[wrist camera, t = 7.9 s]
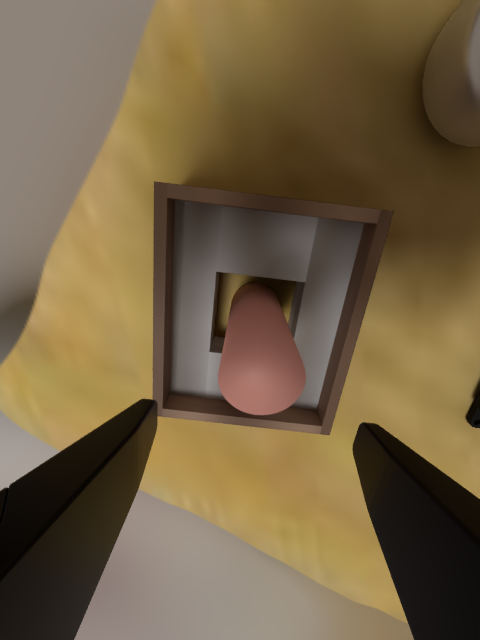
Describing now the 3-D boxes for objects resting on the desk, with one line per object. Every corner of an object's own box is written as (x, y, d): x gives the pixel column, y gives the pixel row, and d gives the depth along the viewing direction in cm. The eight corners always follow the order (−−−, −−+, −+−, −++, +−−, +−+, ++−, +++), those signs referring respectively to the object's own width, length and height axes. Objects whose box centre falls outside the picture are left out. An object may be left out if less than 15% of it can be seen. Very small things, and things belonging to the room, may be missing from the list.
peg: (274, 330, 19) (297, 419, 11) (229, 325, 19) (214, 410, 10) (282, 286, 18) (314, 344, 9) (233, 280, 18) (221, 334, 9)
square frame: (359, 213, 16) (394, 211, 12) (314, 396, 21) (329, 435, 17) (176, 190, 16) (154, 181, 12) (169, 379, 20) (152, 415, 17)
